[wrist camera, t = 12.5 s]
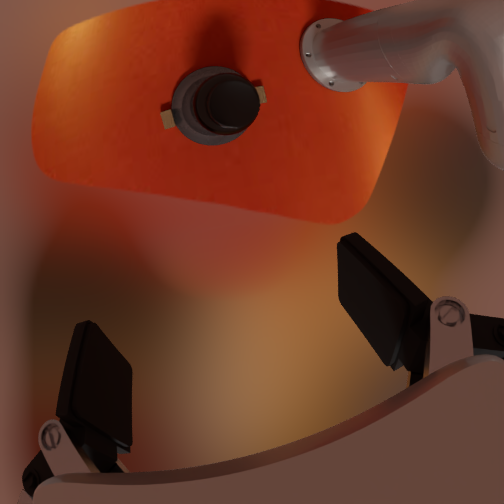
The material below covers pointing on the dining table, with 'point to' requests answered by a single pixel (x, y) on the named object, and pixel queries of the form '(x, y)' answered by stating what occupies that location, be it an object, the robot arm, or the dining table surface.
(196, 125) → the base
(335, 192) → the dining table surface
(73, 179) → the dining table surface
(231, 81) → the supplement bottle
